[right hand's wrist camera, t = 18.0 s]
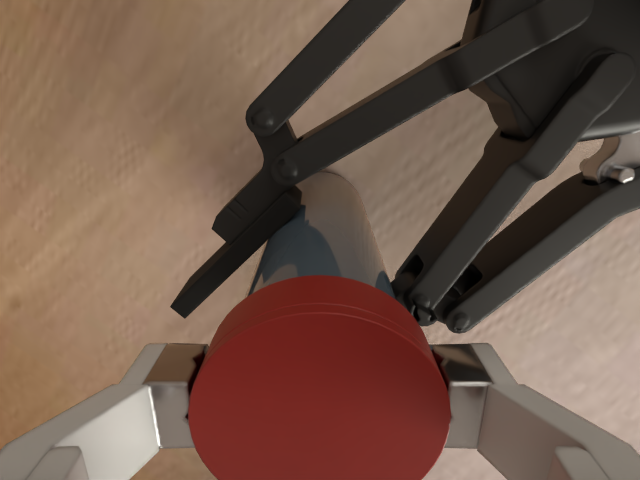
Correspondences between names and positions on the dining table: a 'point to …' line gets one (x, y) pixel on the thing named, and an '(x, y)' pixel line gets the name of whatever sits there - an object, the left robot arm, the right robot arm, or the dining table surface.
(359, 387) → the lid
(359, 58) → the dining table surface
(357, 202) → the jar
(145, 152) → the dining table surface
